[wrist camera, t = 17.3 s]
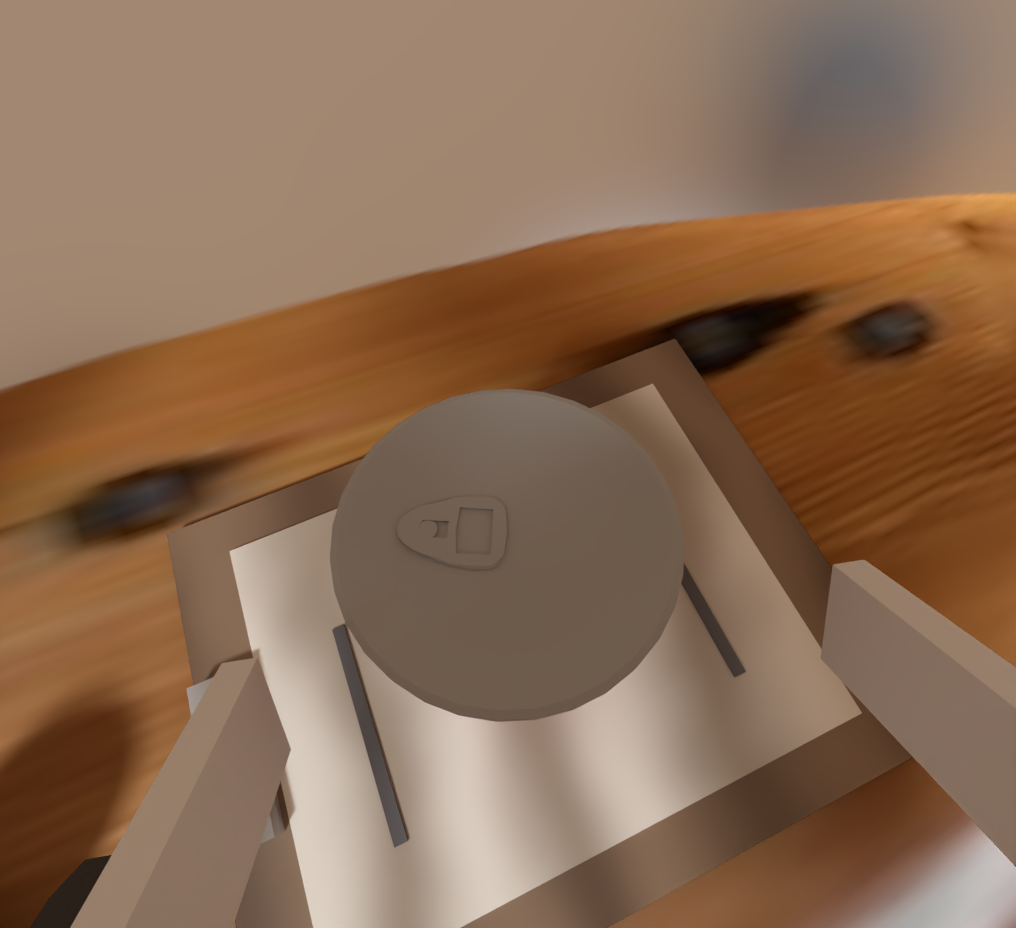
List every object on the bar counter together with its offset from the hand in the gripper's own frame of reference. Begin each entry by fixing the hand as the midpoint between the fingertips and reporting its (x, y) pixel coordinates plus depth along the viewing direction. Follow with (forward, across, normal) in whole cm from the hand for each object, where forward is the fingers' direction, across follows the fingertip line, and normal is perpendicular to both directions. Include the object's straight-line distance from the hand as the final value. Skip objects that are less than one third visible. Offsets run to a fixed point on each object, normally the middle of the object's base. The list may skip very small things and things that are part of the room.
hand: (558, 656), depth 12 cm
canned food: (+9, -1, -5) cm, 10 cm away
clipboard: (+8, 0, -6) cm, 10 cm away
